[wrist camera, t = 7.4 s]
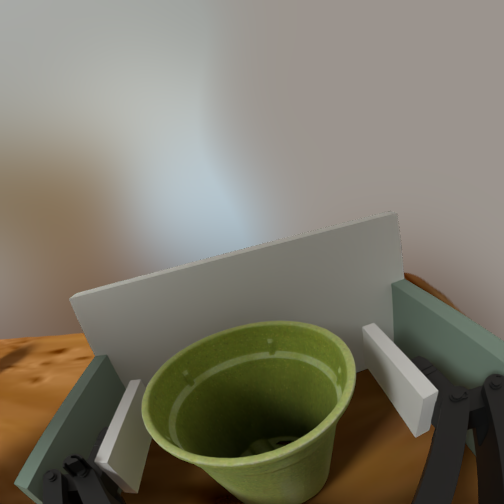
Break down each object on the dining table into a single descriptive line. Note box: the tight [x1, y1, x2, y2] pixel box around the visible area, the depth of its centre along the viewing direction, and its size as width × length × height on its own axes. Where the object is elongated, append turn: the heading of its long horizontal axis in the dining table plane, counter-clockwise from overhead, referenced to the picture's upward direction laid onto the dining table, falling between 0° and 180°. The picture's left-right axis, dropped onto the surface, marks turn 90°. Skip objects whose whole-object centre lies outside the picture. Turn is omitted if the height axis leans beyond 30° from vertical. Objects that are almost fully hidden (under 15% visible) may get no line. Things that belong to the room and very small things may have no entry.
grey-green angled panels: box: [14, 211, 504, 504], centre depth 13 cm, size 15×24×12 cm, turn 94°
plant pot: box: [141, 321, 356, 504], centre depth 12 cm, size 9×9×9 cm
